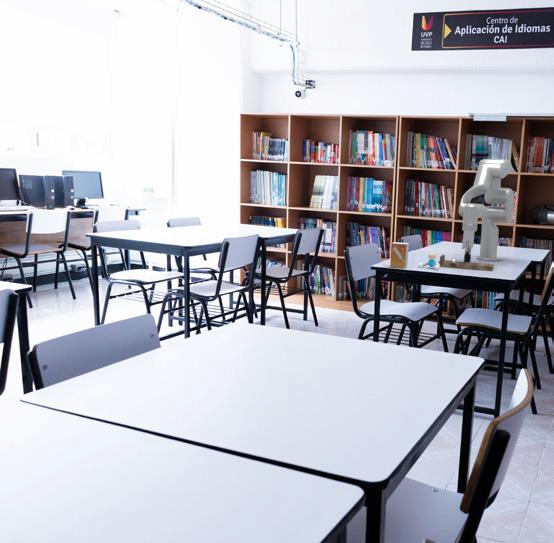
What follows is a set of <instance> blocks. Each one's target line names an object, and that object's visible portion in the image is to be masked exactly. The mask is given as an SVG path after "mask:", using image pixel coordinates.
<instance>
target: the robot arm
mask: <svg viewBox="0 0 554 543" xmlns="http://www.w3.org/2000/svg"><path fill="white" fill-rule="evenodd" d="M511 169H512V164H511V161H510V160H509V159H507V158H506V159H503V158H484V159H481V160H480V161H479V162H478V168H477V171H476V174H475V178H474V182H473V185H472V187H471V188H469V189H468V190H467V191H466V192H465V193H464V194H463V195H462V197H461V199H460V202H459V206H458V214H459V216H460V217H462V227H461V230H462V231H463V236H462V244H461V249H462V250H464V256H463V262H471V257H472V256H471V255H472V249H473V248H474V242H475V241H474V240H475V232H477V231H478V219H481V234H480V246H479V256H477V257H476V260H479V261H488V262H489V261H490V262H495V261H497V262H498V261H500V258H499V257H497V255H498V246H499V245H498V243H499V242H498V241H499V227H498V226H497V225H496V224H497V223H498V224H510V223H512V221H513V218H514V201H515V199H514V197H515V196H514V191H513V189H512V188H509V187H501V185H502V184H501V180H502V179H504V178H506V177H507V176H508V175H509V174H510V172H511ZM481 195H484V201H485V203H487V204H489V205H488V206H485V204H482V203H469V202H470V201H471V199H473V198H474V199H475V198H476V197H478V196H481ZM500 205H502V206H500Z"/></svg>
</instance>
